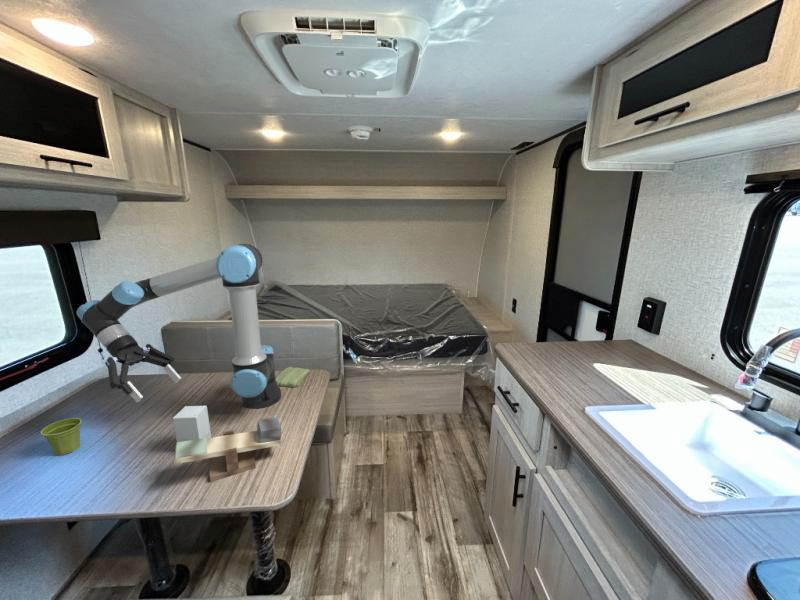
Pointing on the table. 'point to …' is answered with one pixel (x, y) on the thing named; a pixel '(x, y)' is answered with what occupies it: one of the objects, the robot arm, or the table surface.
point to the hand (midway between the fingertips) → (160, 389)
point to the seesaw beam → (230, 442)
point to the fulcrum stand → (230, 462)
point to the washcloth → (291, 377)
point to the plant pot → (63, 435)
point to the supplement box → (192, 423)
